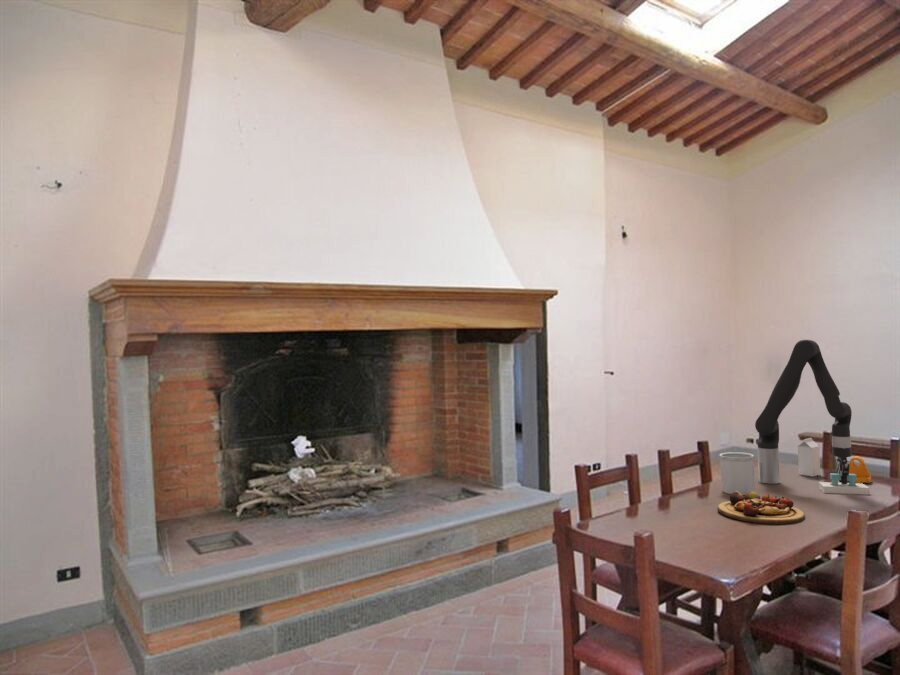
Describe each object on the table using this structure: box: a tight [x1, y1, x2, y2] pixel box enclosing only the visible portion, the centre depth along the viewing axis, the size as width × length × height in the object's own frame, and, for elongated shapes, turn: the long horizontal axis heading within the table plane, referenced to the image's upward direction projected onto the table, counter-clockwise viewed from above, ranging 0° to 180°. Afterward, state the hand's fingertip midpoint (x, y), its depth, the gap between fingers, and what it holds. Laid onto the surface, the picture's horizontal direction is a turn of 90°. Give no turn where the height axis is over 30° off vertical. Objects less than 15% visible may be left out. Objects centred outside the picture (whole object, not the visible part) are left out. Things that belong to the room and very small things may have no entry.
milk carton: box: [797, 437, 821, 477], centre depth 318 cm, size 7×7×19 cm
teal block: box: [829, 472, 857, 486], centre depth 282 cm, size 10×3×6 cm, turn 71°
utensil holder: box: [719, 451, 756, 496], centre depth 288 cm, size 15×15×18 cm
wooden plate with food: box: [717, 491, 806, 525], centre depth 251 cm, size 32×32×8 cm
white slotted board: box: [818, 481, 871, 496], centre depth 282 cm, size 18×9×3 cm, turn 71°
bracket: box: [847, 455, 872, 484], centre depth 300 cm, size 11×7×12 cm, turn 50°
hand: (843, 483), depth 282 cm, fingers closed on teal block, 3 cm apart
